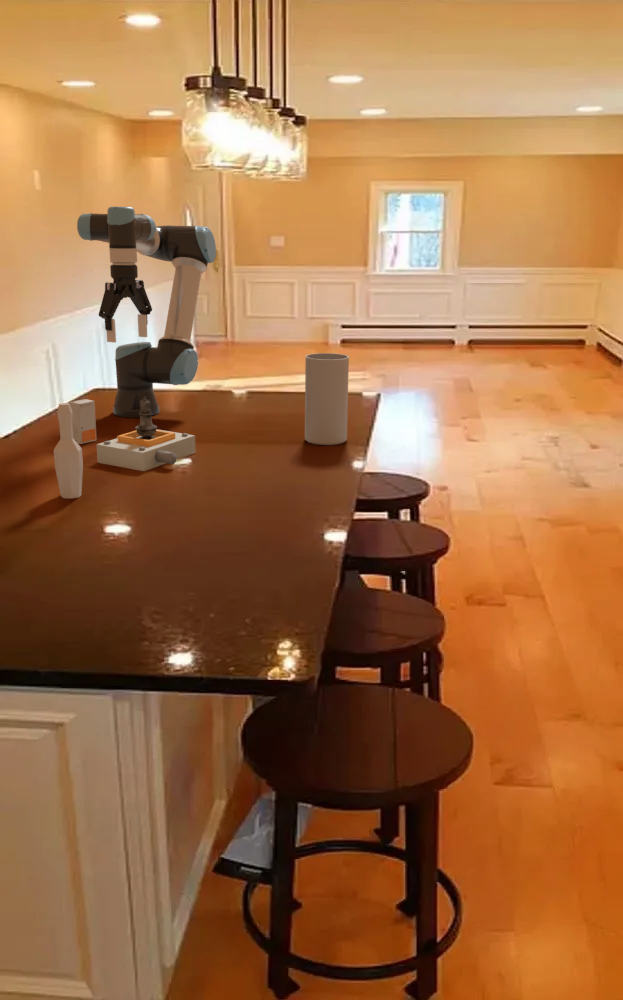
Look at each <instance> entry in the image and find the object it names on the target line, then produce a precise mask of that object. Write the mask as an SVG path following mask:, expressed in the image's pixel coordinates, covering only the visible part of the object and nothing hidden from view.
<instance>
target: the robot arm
mask: <svg viewBox="0 0 623 1000" xmlns="http://www.w3.org/2000/svg"><path fill="white" fill-rule="evenodd" d="M76 225H77V226H76V228H77V230H76V231H77V233H78V235H79V237H80V239H82V240H86V241H90V242H93V241H97V242H98V241H99V242H102V243H108V248H109V249H108V250H109V261H110V263H112V264H110V266H109V267H110V269H109V270H110V277H111V278H112V281H113V282H107V281H106V282H105V283H104V293H103V295H102V300H101V304H100V307H99V311H98V316H99V317H100V318H101V319H104V328H105V329H104V330H105V332H106V342H107V343H117V333H116V319H115V318H114V316H115V313H116V311H117V309H118V308H119V305H120V304H121V301H122V300H123V299H128V298H129V299H130V300H131V302H132V303H133V306H135V308H136V310H137V311H138V313H137V327H138V328H137V331H138V332H137V333H138V337H140V338H148V321H149V320H148V315H151V312H152V311H153V307H152V304H151V302H150V300H149V299H150V298H149V296H148V293H147V291H146V289H145V283H144V280H143V279H141V280H140V279H137V278H138V266H137V264H136V263H138V256H137V255H138V254H140V255H142V256H146V257H149V258H153V259H155V260H160V261H162V262H163V261H164V262H169V263H171V265H172V266H173V267H174V275H173V282H172V288H171V293H170V299H169V304H168V305H169V306H168V311H167V316H166V323H165V330H164V334H163V336H162V337H160V338H159V339H158V340H157V346H156V347H155V346H154V347H153V345H152V343H151V342H150V341H138V342H132V343H127V344H121V345H119V346H117V347H116V348H115V359H114V362H115V369H116V371H115V373H116V374H115V375H116V387H117V390H116V391H117V392H116V395H115V398H114V404H113V406H112V410H113V412H112V413H113V415H115V416H118V417H123V418H140V414H139V413H140V401H141V400H143V399H144V396H145V397H146V399H147V400H149V401H150V406H151V412H152V414H151V417H152V416H155V415H158V414H159V413H160V404H159V402H158V400H157V397H156V395H155V391H154V385H153V384H160V385H161V384H162V385H173V386H180V385H181V386H182V385H183V386H184V385H189V384H190V383H191V382H192V381H193V380H194V378H195V377H196V374H197V371H198V368H199V361H198V360H199V357H198V353H197V351H196V350H195V349H194V348H195V346H194V345H193V343H192V342H191V337H192V333H193V327H194V326H193V325H194V320H195V313H196V309H197V303H198V295H199V289H200V283H201V278H202V274H204V273H206V272H207V269H208V264H212V263H214V262H215V259H216V256H217V247H216V246H217V245H216V240H215V236H214V233H213V232H212V231H211V229H210V228H209V227H207V226H200V225H156V222H155V220H154V219H153V218H152V217H151V216H149V215H148V214H144V213H136V212H135V209H134V208H133V207H132V206H109V207H108V208H107V212H106V213H92V212H90V213H81V215H79V217H78V218H77V223H76Z"/></svg>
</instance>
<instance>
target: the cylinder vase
mask: <svg viewBox="0 0 623 1000" xmlns="http://www.w3.org/2000/svg"><path fill="white" fill-rule="evenodd" d="M349 359H350V356H349V355H346V354H343V353H342V354H341V353H331V352H329V353H328V352H323V353H322V352H318V353H310V354H306V355H305V365H304V366H305V373H304V375H305V379H304V381H305V384H304V398H305V399H304V439H305V441H307V443H309V444H313V445H316V446H317V445H319V446H320V445H321V446H335V445H340V444H343V443H345V442H346V441H347V439H348V407H349V405H348V404H349V372H350V371H349V367H350V363H349V362H350V360H349Z"/></svg>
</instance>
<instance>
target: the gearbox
mask: <svg viewBox="0 0 623 1000" xmlns="http://www.w3.org/2000/svg"><path fill="white" fill-rule="evenodd" d="M140 437H142V436H140V435H139V434H138V433H137V429H135V430H133V431H132V430H131V431H130V432H126V433H122V434H119V435H117V436H116V438H114V439H111V440H105V441H103V442H101V443H97V444H96V445H95V446H96V457H97V463H98V464H99V463H100V464H102V465H108V466H114V467H120V468H124V469H125V468H126V469H129V470H130V469H131V470H136V471H140V472H146V471H149V470H152V469H155V468H157V467H159V466H163V465H166V464H170V465H175V464H176V462H177V461H178V460H179V459H181V458H185V457H187V456H191V455H193V454H196V452H197V451H196V435H193V434H189V433H186V432H184V433H181V432H175V431H168V430H163V429H157V428H156V432H155V434H154V435H153V436H152V437H155V438H154V439H150V440H145V439H140Z"/></svg>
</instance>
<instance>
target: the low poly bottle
mask: <svg viewBox="0 0 623 1000" xmlns="http://www.w3.org/2000/svg"><path fill="white" fill-rule="evenodd" d="M56 413H57V414H56V415H57V419H58V424H59V425H58V426H59V436H60V437H59V438H60V439H59V441H58V442H57V444H56V445H55V447H54V449H53V458H54V470H55V473H56V474H55V476H56V479H57V483H58V488H59V493H60V497H61V498H63V499H76V498H77V499H78V498H80V497H81V496H82V489H83V475H84V473H83V472H84V462H83V460H84V459H83V449H82V447H81V446H80V444H78V443H77V442H76V441H75V440H74V439H73V426H72V421H73V412H72V409H71V406H70V404H69V402H61V403H58V407H57V411H56Z"/></svg>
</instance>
